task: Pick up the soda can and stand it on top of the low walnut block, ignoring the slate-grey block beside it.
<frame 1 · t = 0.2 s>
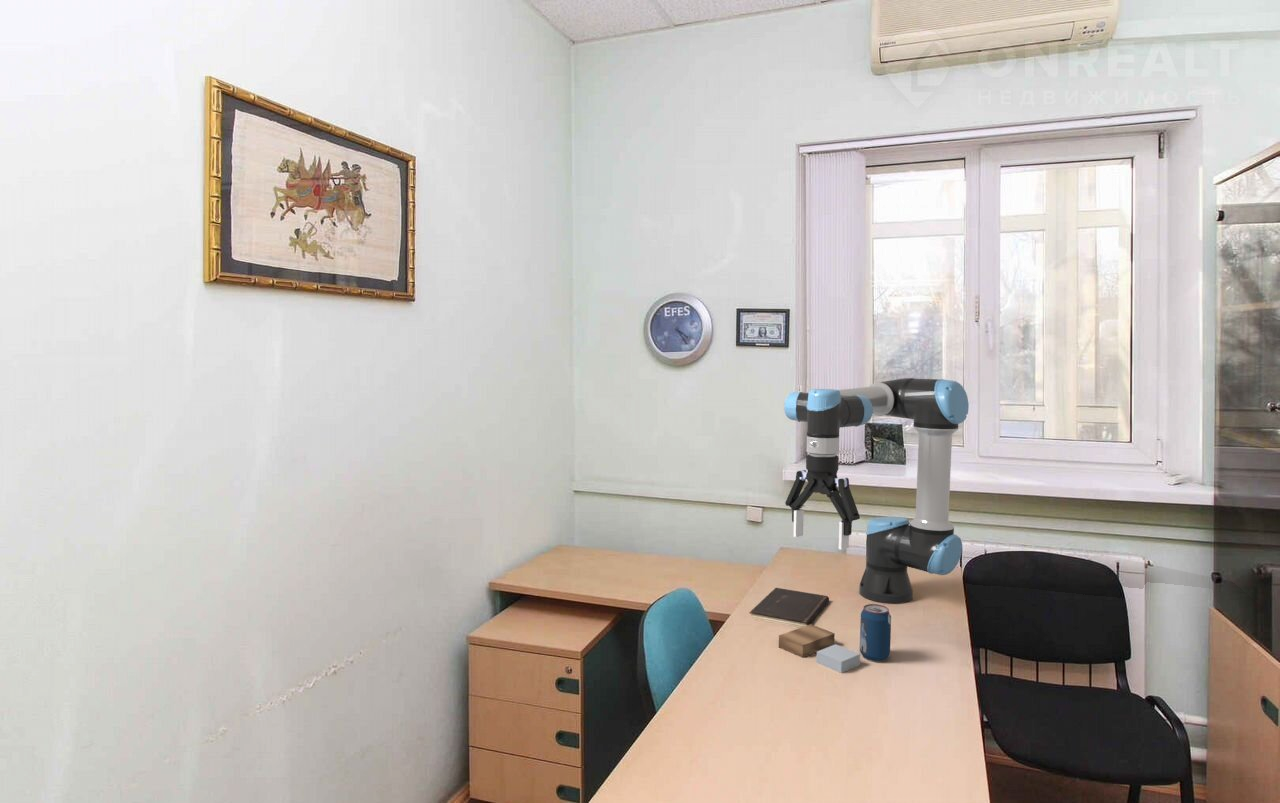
hand: (820, 542, 178), 27 cm above the table, fingers open, 13 cm apart
soda can: (874, 657, 178), on the table
walnut block: (806, 646, 184), on the table
slate block: (838, 665, 174), on the table
hardcover book: (790, 612, 209), on the table
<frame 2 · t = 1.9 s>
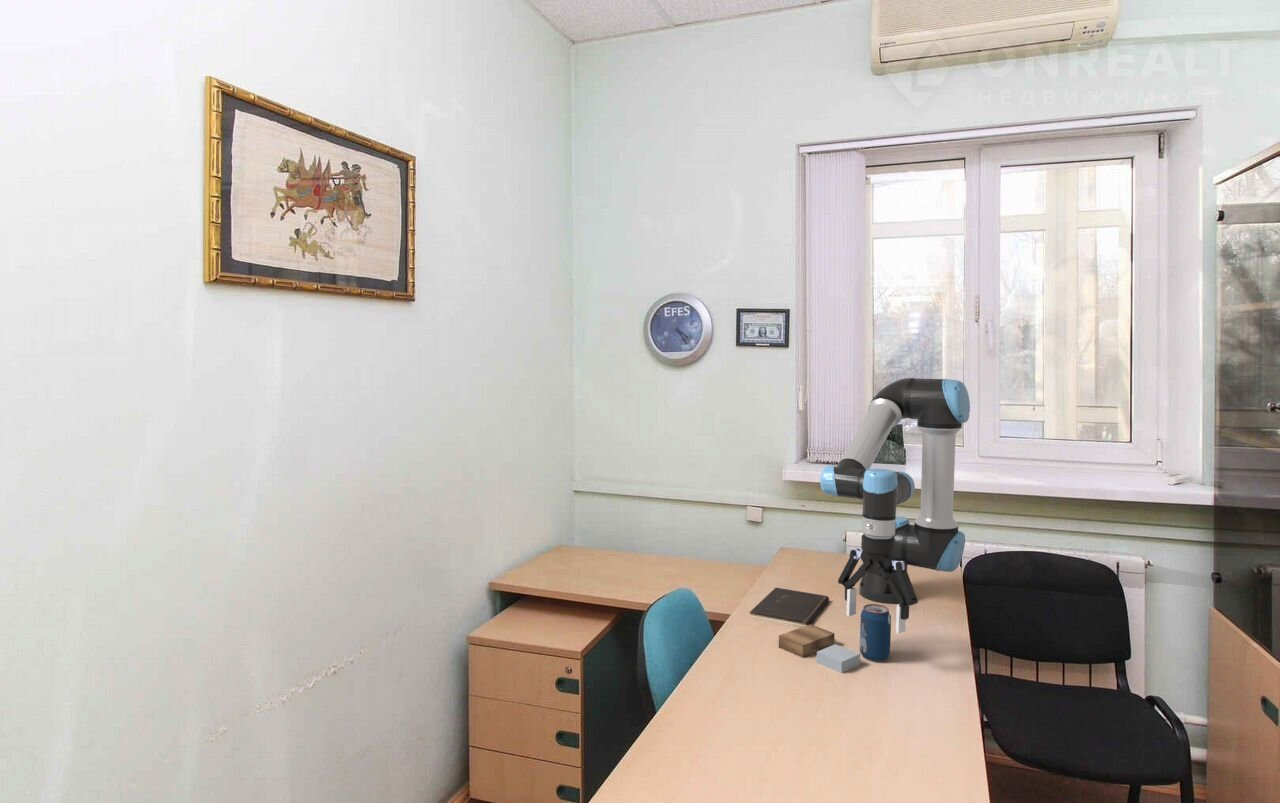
hand: (875, 623, 177), 8 cm above the table, fingers open, 13 cm apart
nothing on the table moved.
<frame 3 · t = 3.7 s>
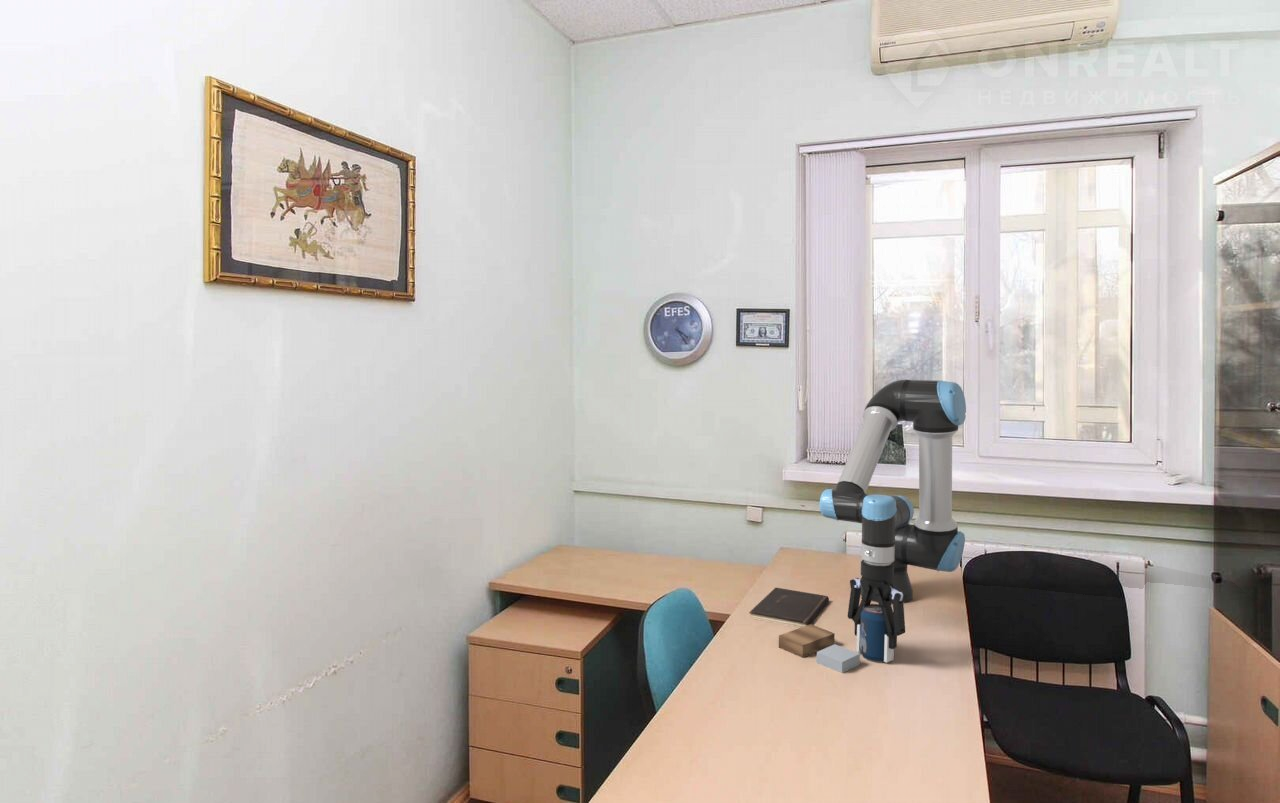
hand: (874, 655, 178), 0 cm above the table, fingers closed on soda can, 7 cm apart
soda can: (874, 657, 178), on the table, touching gripper
everything else where it was.
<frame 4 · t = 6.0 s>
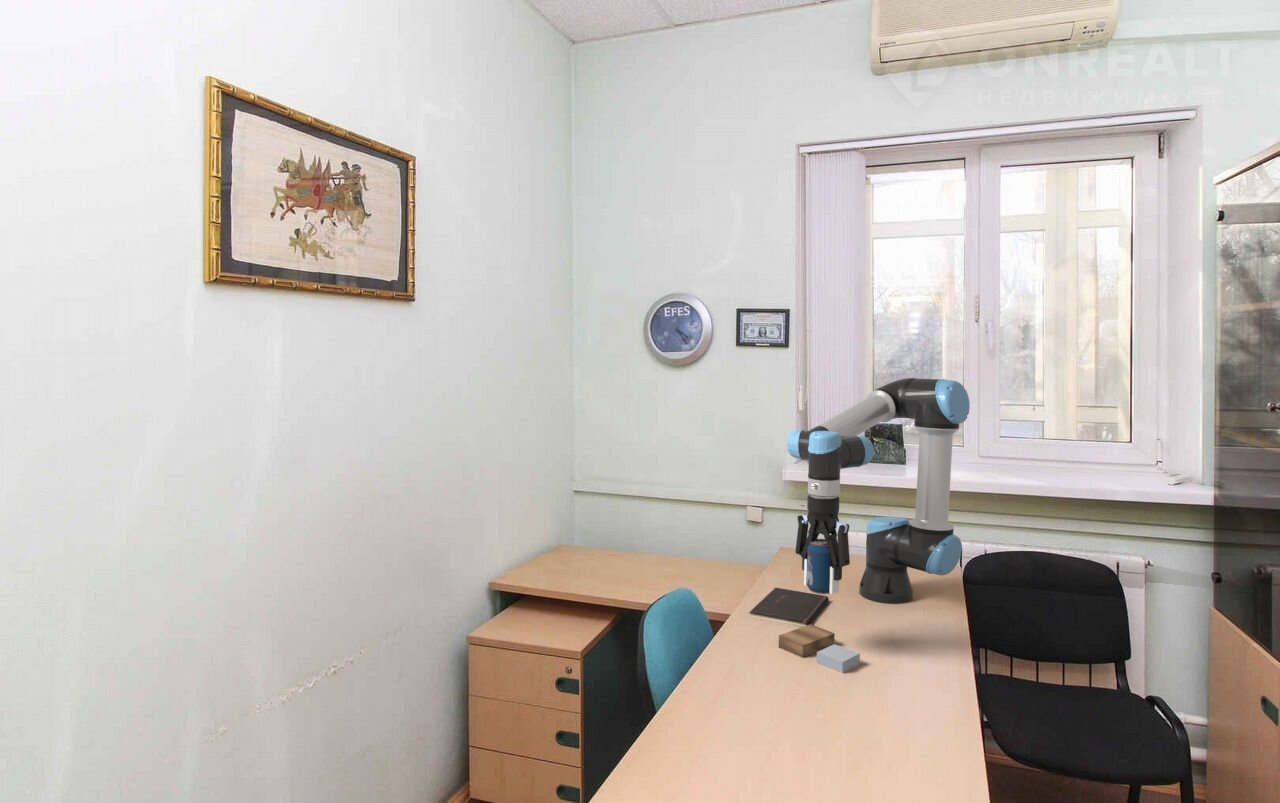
hand: (821, 588, 181), 15 cm above the table, fingers closed on soda can, 7 cm apart
soda can: (821, 591, 181), point 14 cm above the table, touching gripper
everything else where it was.
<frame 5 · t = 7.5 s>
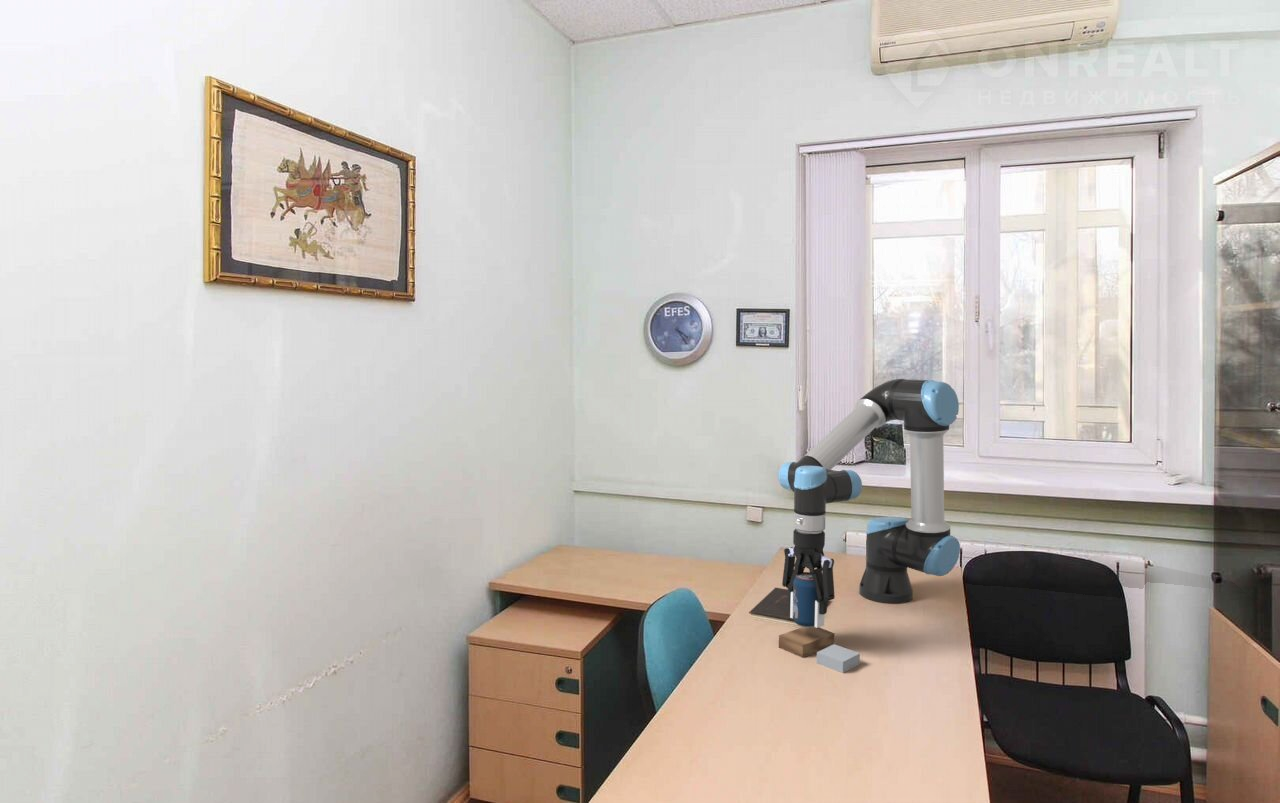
hand: (806, 621, 183), 6 cm above the table, fingers closed on soda can, 7 cm apart
soda can: (806, 623, 183), point 6 cm above the table, touching gripper
everything else where it was.
when the fingers open (4 cm above the table, at t = 8.6 s): soda can stays where it is, resting on walnut block.
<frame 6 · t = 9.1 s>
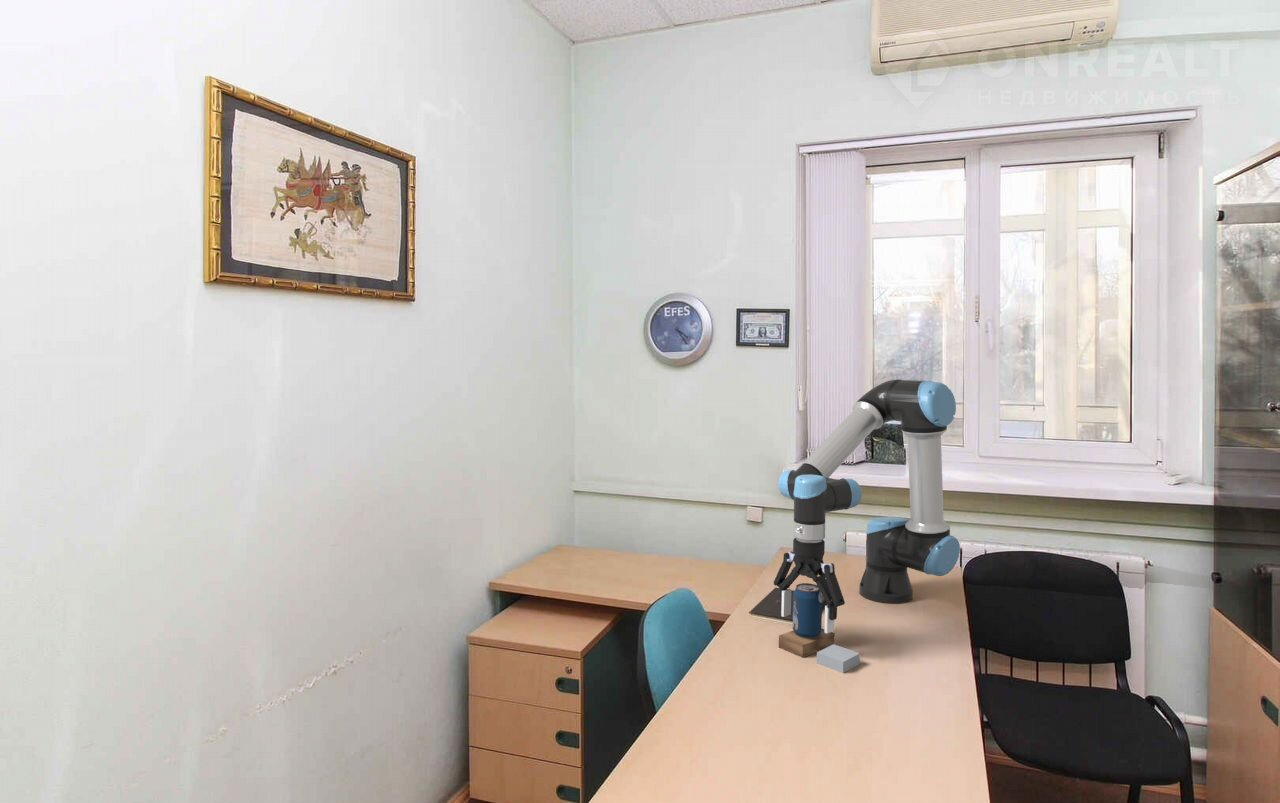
hand: (807, 623, 183), 6 cm above the table, fingers open, 13 cm apart
soda can: (806, 635, 184), point 3 cm above the table, touching walnut block
everything else where it was.
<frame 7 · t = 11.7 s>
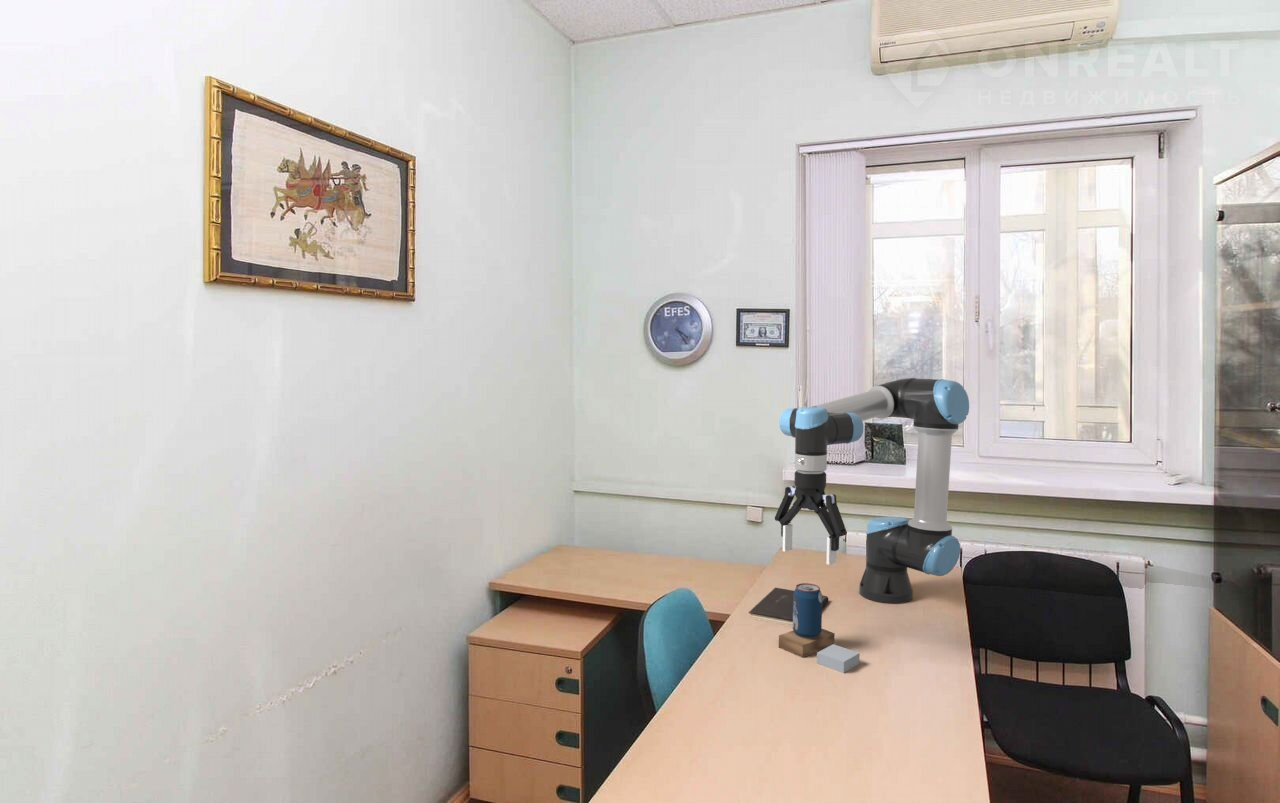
hand: (808, 556, 182), 23 cm above the table, fingers open, 13 cm apart
nothing on the table moved.
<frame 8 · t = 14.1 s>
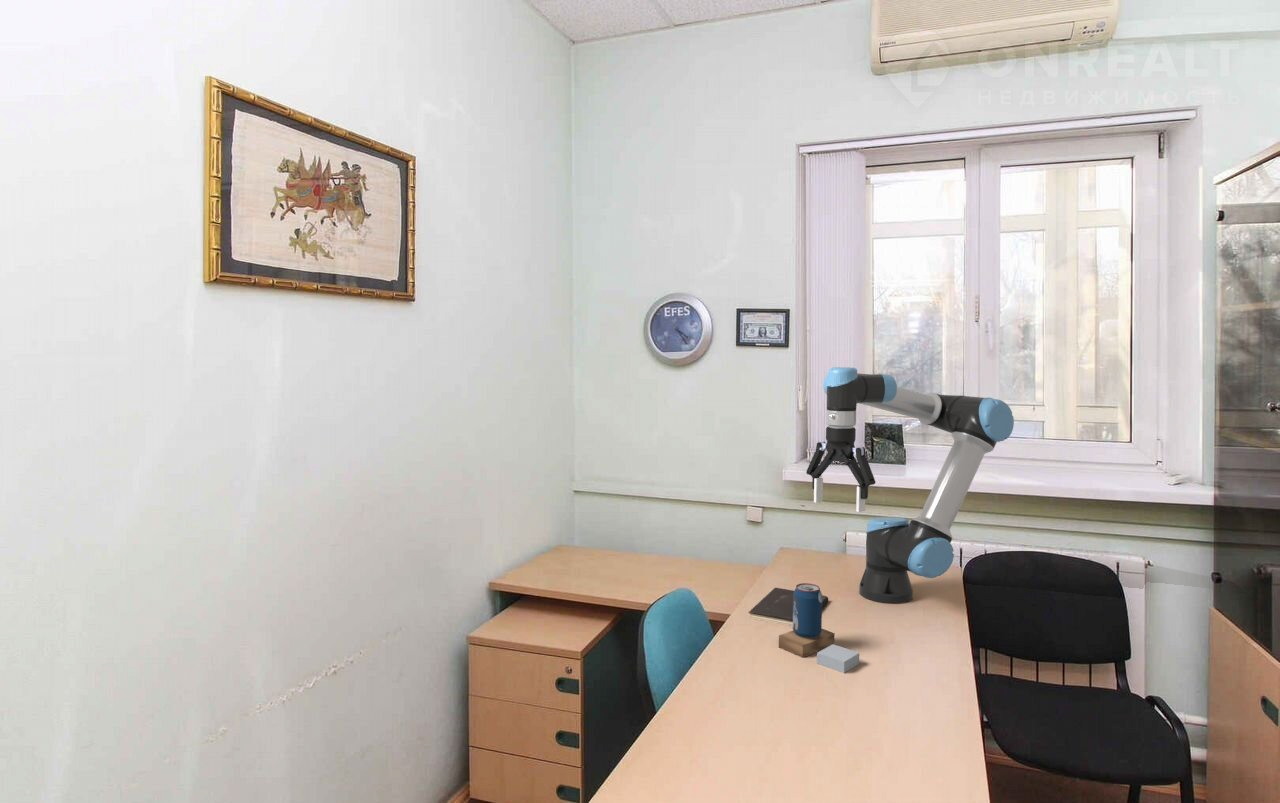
hand: (838, 506, 196), 32 cm above the table, fingers open, 13 cm apart
nothing on the table moved.
at the end: soda can inside the target area on the walnut block (0.0 cm from its centre), point 2.8 cm above the walnut block's base; soda can touching walnut block; soda can tilted 0° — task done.
